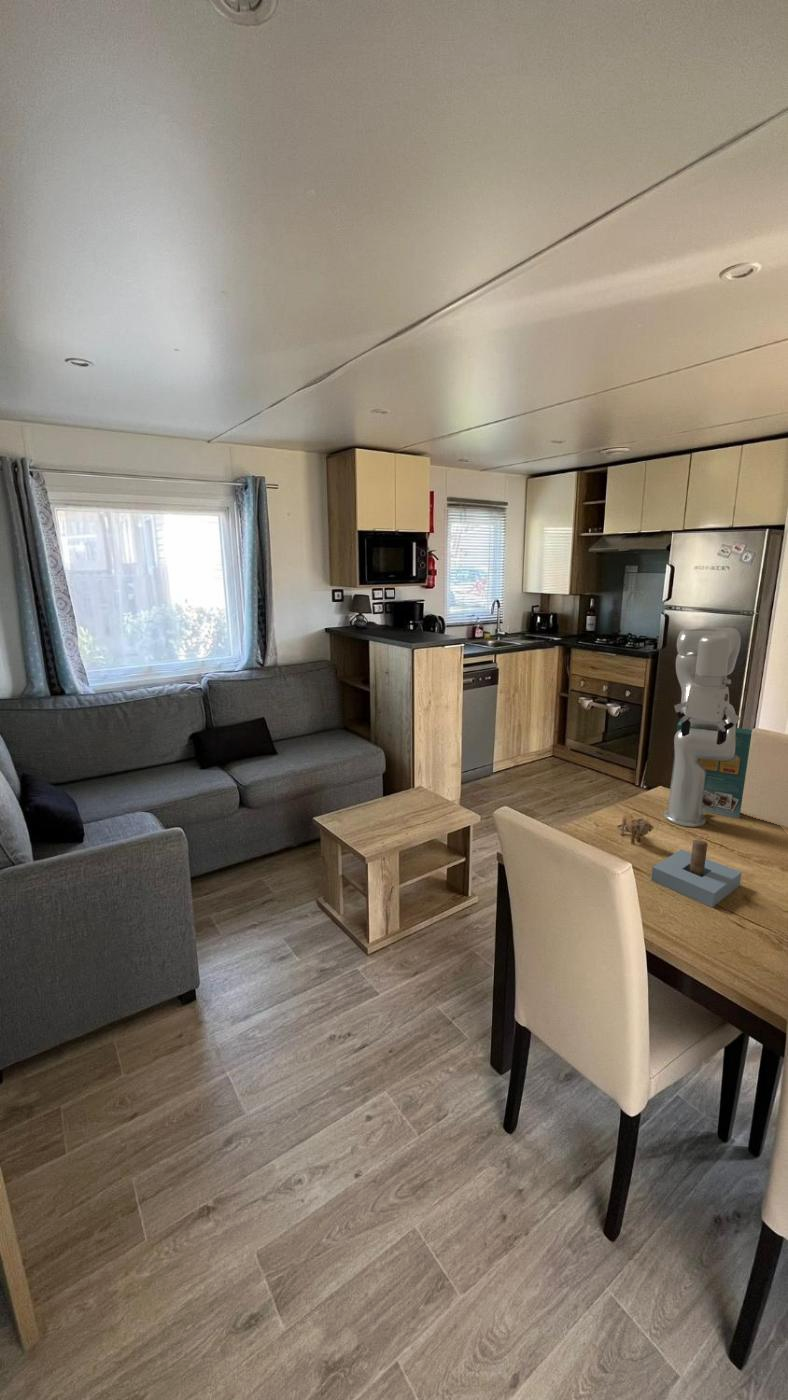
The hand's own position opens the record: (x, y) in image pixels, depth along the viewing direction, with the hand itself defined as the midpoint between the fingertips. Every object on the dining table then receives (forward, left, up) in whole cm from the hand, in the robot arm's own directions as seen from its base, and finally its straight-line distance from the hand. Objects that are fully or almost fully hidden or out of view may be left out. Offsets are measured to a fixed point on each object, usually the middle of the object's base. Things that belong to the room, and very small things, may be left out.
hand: (702, 739), depth 160 cm
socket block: (+15, +9, -36) cm, 40 cm away
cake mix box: (-36, -12, -36) cm, 53 cm away
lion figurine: (+4, -15, -36) cm, 39 cm away
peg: (+15, +9, -36) cm, 40 cm away
